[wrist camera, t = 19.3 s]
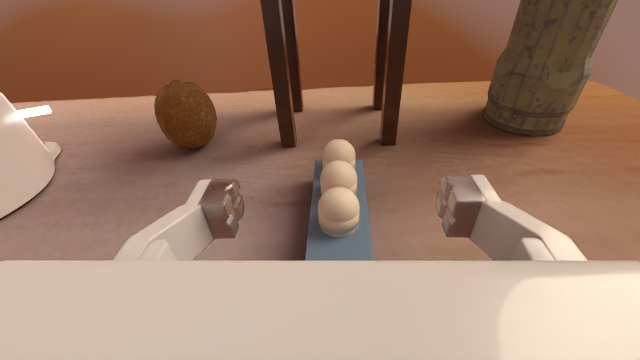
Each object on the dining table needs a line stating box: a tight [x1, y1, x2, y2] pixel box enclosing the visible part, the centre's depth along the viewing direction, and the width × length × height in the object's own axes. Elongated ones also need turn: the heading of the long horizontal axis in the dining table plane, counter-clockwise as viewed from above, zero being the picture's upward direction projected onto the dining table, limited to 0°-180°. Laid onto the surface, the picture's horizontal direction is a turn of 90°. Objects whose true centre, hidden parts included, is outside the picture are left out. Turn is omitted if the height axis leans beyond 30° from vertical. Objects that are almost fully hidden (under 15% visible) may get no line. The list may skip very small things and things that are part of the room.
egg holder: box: [305, 139, 373, 261], centre depth 22 cm, size 18×4×5 cm, turn 177°
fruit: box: [154, 80, 217, 148], centre depth 35 cm, size 6×6×8 cm
